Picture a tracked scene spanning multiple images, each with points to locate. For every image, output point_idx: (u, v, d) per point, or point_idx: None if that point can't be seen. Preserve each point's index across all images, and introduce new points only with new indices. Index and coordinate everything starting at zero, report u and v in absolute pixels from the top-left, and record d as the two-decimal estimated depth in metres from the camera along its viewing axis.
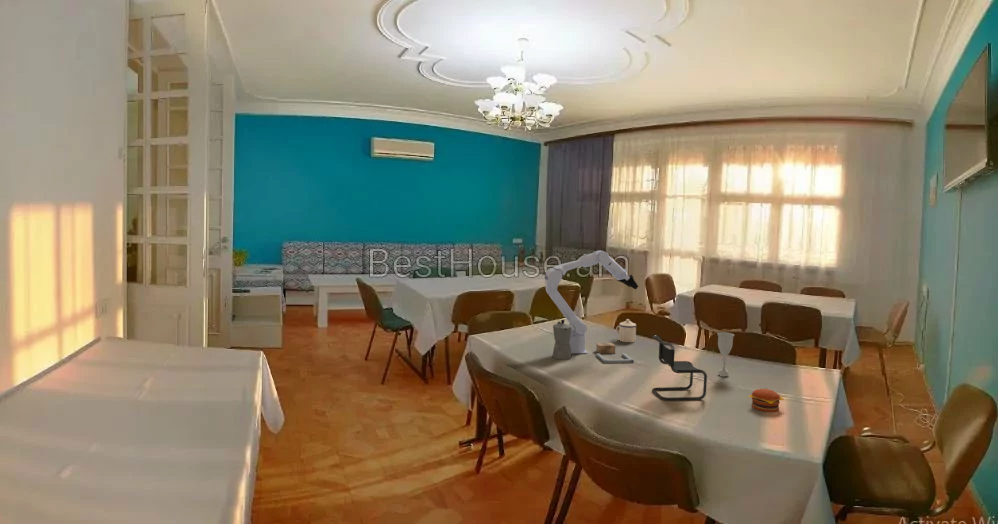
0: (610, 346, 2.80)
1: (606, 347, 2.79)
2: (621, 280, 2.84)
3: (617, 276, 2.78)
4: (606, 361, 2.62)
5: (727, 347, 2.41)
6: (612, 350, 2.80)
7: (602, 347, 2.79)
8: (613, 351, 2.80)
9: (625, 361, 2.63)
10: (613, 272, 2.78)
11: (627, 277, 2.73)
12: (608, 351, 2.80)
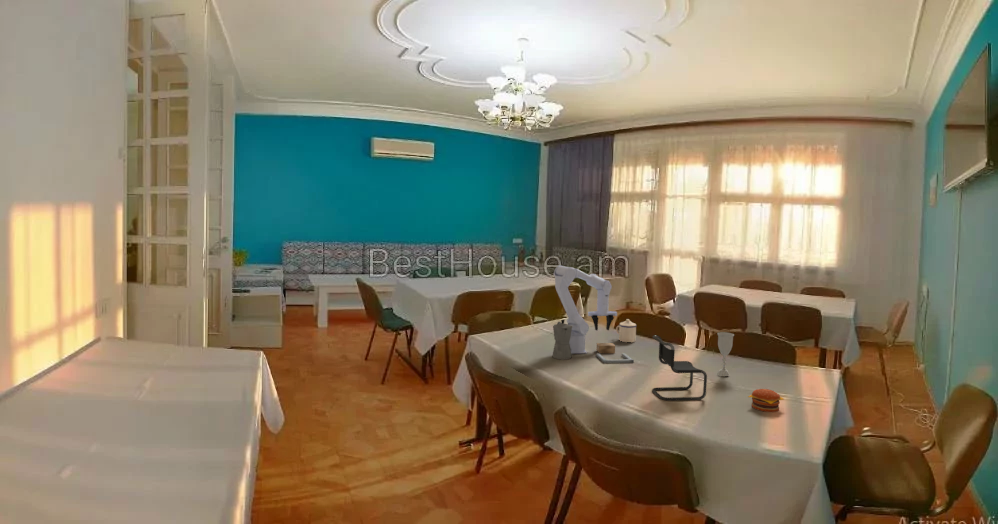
0: (610, 346, 2.80)
1: (606, 347, 2.79)
2: (597, 319, 2.86)
3: (607, 310, 2.85)
4: (606, 361, 2.62)
5: (727, 347, 2.41)
6: (612, 350, 2.80)
7: (602, 347, 2.79)
8: (613, 351, 2.80)
9: (625, 361, 2.63)
10: (607, 304, 2.85)
11: None
12: (608, 351, 2.80)
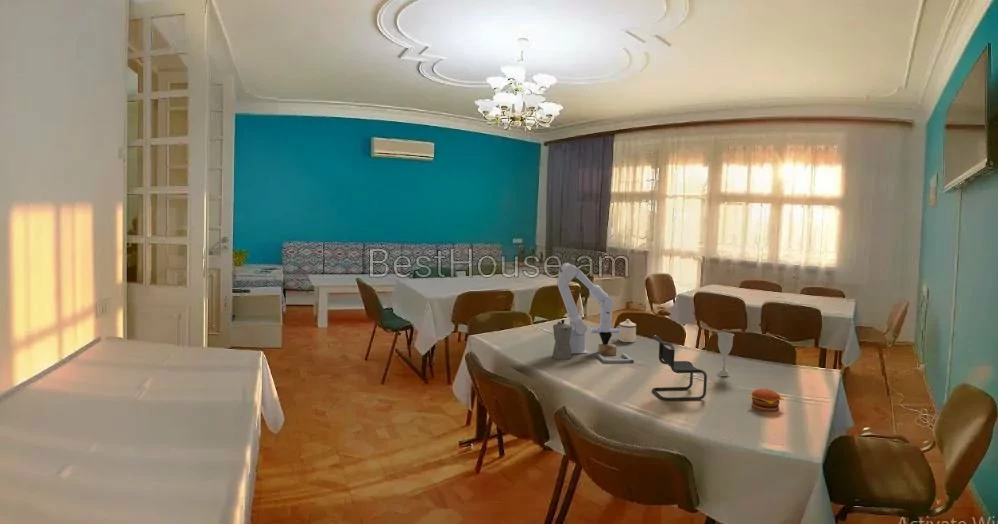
0: (611, 347, 2.77)
1: (607, 348, 2.77)
2: (605, 336, 2.81)
3: (610, 327, 2.81)
4: (606, 361, 2.62)
5: (727, 347, 2.41)
6: (613, 352, 2.77)
7: (602, 348, 2.77)
8: (614, 353, 2.77)
9: (625, 361, 2.63)
10: (610, 321, 2.80)
11: None
12: (609, 352, 2.77)
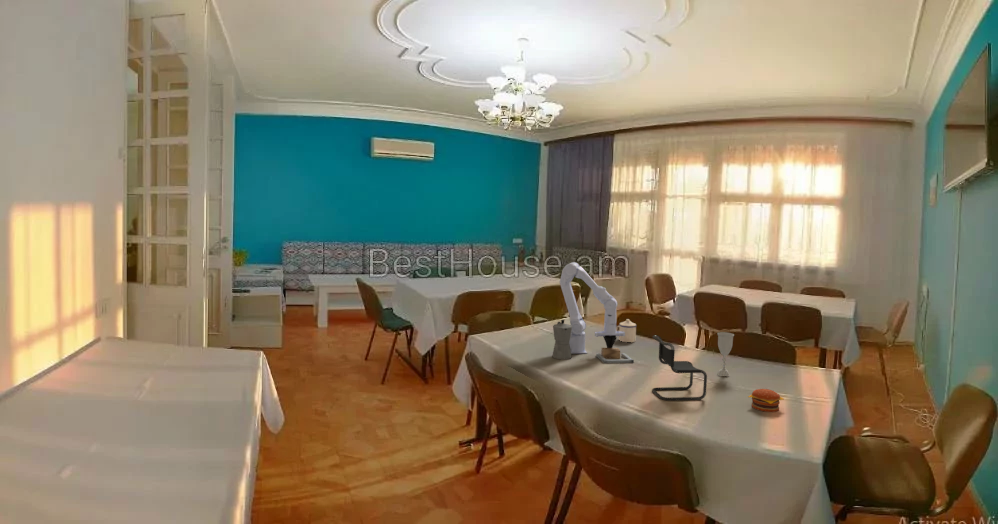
0: (615, 351, 2.70)
1: (610, 352, 2.70)
2: None
3: (615, 330, 2.74)
4: (606, 361, 2.62)
5: (727, 347, 2.41)
6: (617, 356, 2.70)
7: (606, 352, 2.70)
8: (618, 356, 2.70)
9: (625, 361, 2.63)
10: (615, 324, 2.74)
11: None
12: (612, 356, 2.70)
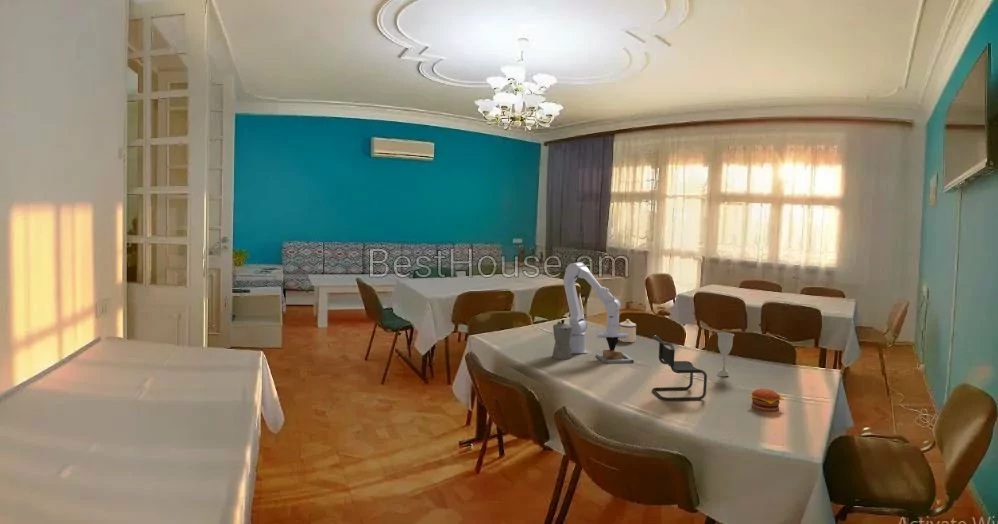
0: (616, 353, 2.66)
1: (612, 354, 2.66)
2: None
3: (617, 332, 2.70)
4: (606, 361, 2.62)
5: (727, 347, 2.41)
6: (619, 358, 2.67)
7: (608, 354, 2.66)
8: None
9: (625, 361, 2.63)
10: (617, 326, 2.70)
11: None
12: (614, 358, 2.67)
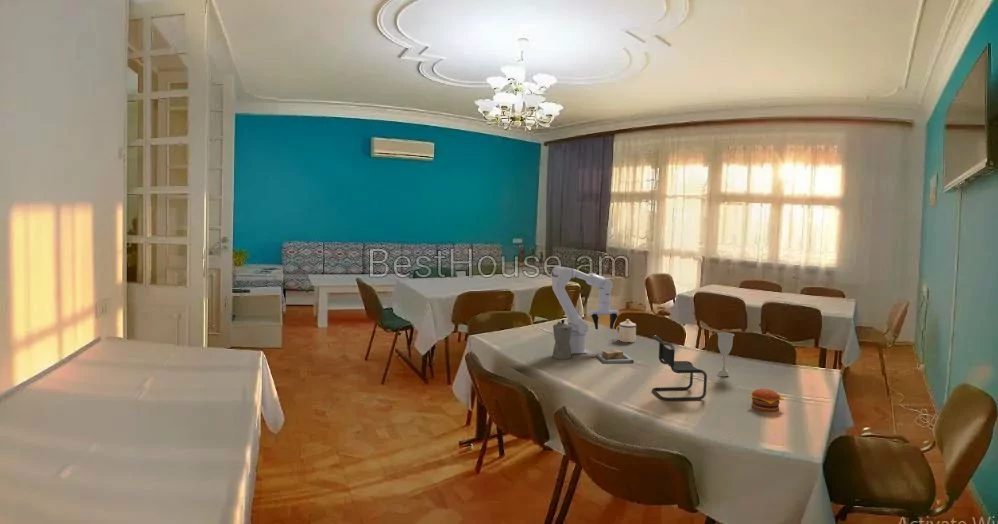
0: (618, 353, 2.67)
1: (614, 354, 2.66)
2: (597, 318, 2.84)
3: (609, 308, 2.83)
4: (606, 361, 2.62)
5: (727, 347, 2.41)
6: (620, 357, 2.67)
7: (611, 355, 2.65)
8: (621, 358, 2.68)
9: (625, 361, 2.63)
10: (609, 303, 2.83)
11: None
12: (616, 358, 2.67)
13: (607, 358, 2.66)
